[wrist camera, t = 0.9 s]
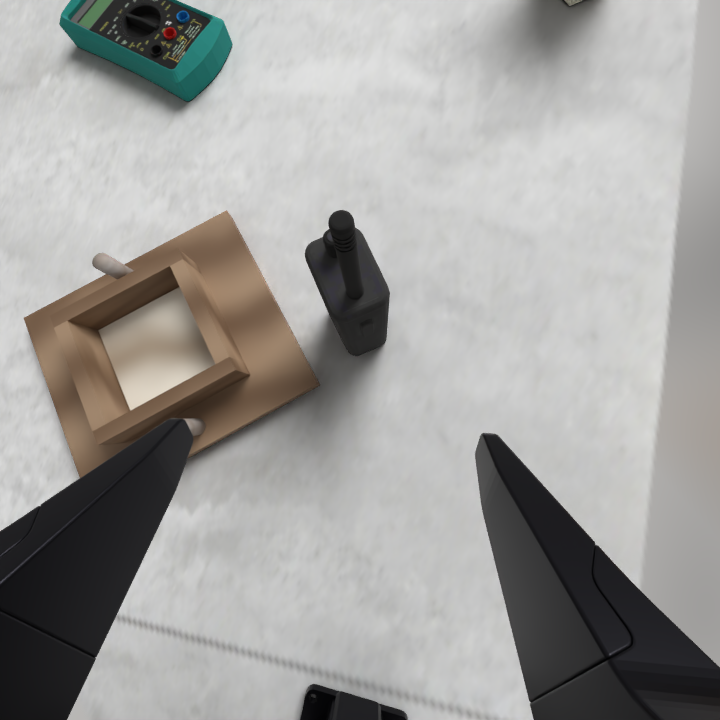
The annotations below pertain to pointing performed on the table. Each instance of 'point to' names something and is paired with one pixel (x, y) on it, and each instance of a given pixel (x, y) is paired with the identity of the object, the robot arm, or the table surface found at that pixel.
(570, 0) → the skincare box
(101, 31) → the digital multimeter
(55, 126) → the table surface
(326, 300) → the walkie-talkie
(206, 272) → the wooden frame board
